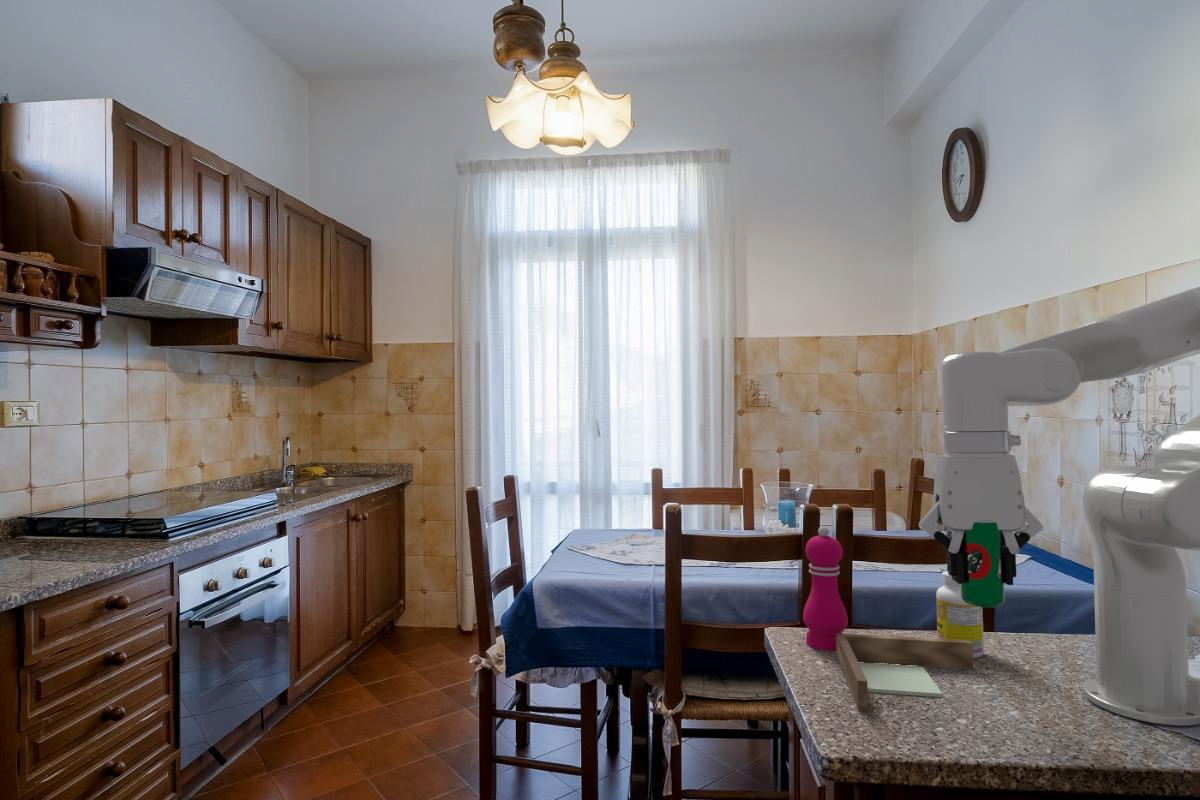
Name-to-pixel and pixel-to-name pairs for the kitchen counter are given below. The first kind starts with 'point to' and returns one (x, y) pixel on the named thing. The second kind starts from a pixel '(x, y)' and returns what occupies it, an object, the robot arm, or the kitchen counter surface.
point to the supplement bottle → (958, 616)
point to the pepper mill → (824, 593)
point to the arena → (896, 657)
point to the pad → (899, 680)
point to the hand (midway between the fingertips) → (981, 580)
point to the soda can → (983, 565)
